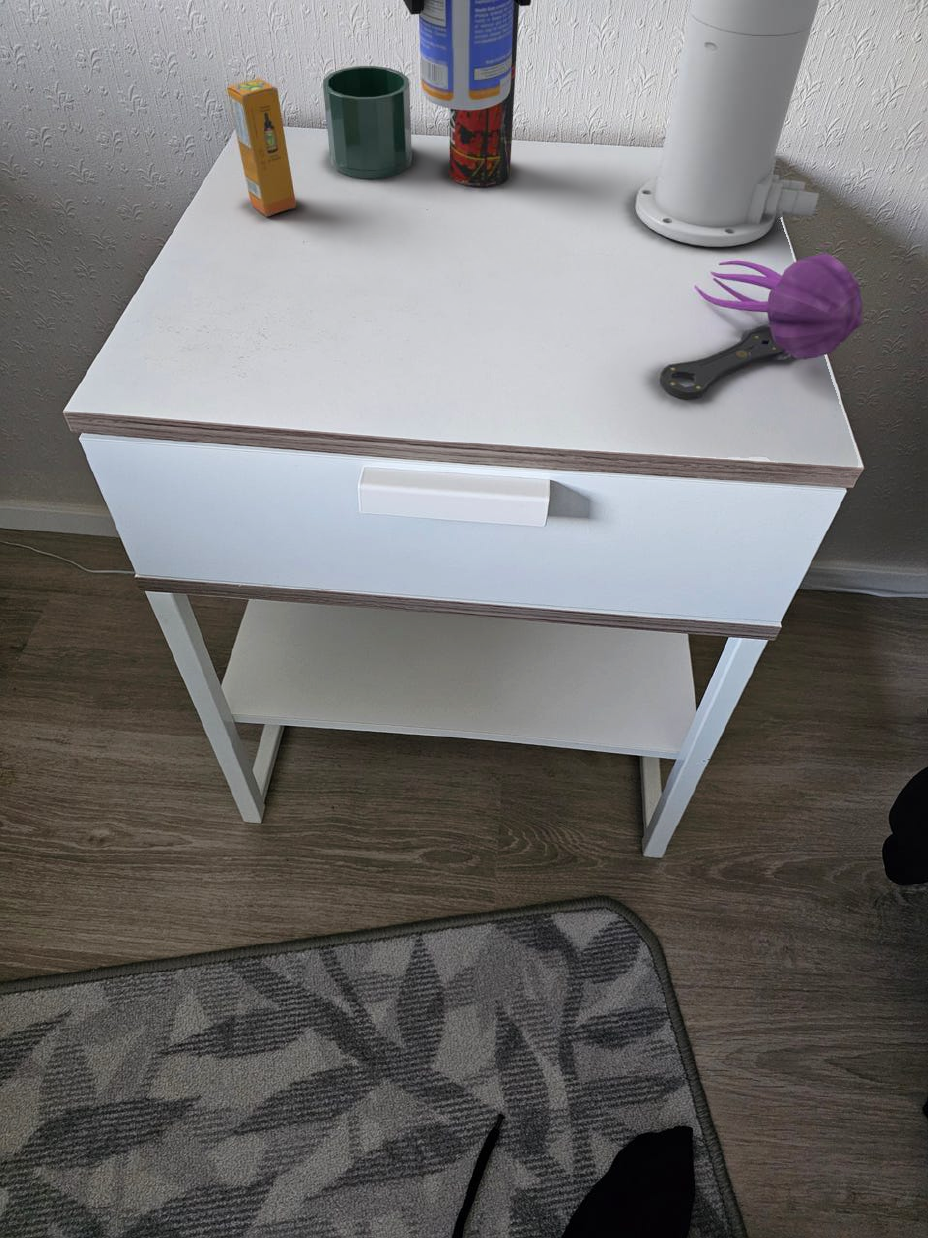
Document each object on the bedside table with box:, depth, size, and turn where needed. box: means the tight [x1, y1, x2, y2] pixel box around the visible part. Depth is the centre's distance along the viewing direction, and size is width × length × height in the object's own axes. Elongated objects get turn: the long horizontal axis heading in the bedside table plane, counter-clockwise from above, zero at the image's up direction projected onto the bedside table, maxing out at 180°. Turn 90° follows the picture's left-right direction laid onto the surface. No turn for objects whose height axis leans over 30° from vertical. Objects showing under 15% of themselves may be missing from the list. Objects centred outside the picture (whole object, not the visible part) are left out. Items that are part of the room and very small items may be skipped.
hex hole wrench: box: [659, 323, 792, 400], centre depth 65 cm, size 4×20×1 cm, turn 125°
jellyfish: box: [694, 252, 863, 360], centre depth 63 cm, size 7×7×15 cm
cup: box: [322, 65, 413, 180], centre depth 81 cm, size 8×8×7 cm
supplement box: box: [226, 77, 297, 218], centre depth 74 cm, size 3×3×10 cm
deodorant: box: [449, 0, 520, 188], centre depth 77 cm, size 6×6×15 cm
